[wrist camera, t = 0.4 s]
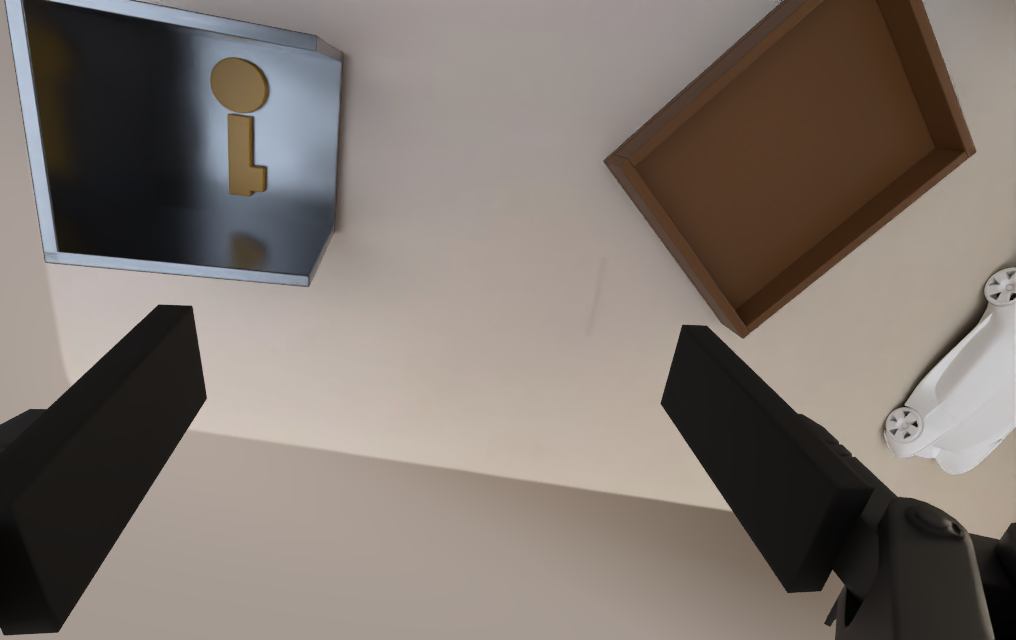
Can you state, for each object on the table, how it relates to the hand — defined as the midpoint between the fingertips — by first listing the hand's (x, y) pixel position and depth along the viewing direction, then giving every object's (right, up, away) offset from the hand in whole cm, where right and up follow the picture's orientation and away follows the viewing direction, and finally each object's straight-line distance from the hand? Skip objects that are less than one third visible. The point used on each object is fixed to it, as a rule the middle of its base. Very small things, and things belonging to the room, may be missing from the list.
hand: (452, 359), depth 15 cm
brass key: (-11, +10, +11) cm, 19 cm away
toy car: (+38, -2, +27) cm, 46 cm away
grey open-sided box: (-12, +10, +12) cm, 20 cm away
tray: (+18, +11, +17) cm, 27 cm away
